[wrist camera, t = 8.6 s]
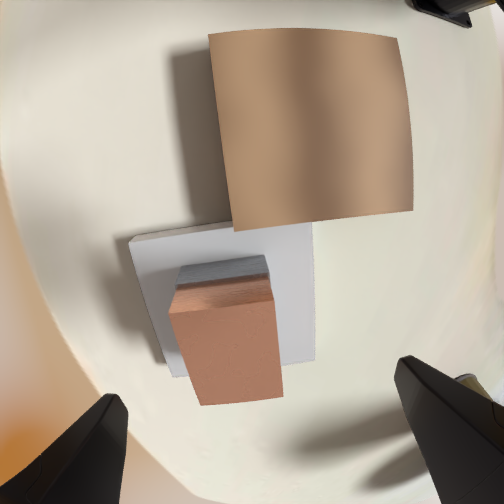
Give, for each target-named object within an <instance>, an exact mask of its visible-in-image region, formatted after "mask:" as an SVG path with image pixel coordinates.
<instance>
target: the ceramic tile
mask: <svg viewBox="0 0 504 504" xmlns="http://www.w3.org/2000/svg"><path fill="white" fill-rule="evenodd" d="M128 244H129V248H130V252H131V256H132V260H133V263H134V267H135V270H136V274H137V277H138V281H139V284H140V288H141V291H142V294H143V297H144V300H145V304H146V307H147V310H148V313H149V316H150V319H151V322H152V324H153V327H154V330H155V333H156V336H157V339H158V341H159V344H160V347H161V349H162V352H163V355H164V357H165V360H166V362H167V365H168V367H169V370H170V372H171V375H172V377H185V376H189V374H188V371H187V369H186V366H185V363H184V360H183V357H182V354H181V352H180V349H179V346H178V343H177V340H176V337H175V334H174V331H173V327H172V324H171V321H170V318H169V315H168V312H169V309H170V306H171V304H172V301H173V298H174V295H175V292H176V290H175V286H174V284H175V282H176V279H177V276H178V274H179V271H180V269H181V266H185V265H192V264H200V263H207V262H214V261H221V260H229V259H236V258H243V257H250V256H257V255H265V258H266V262H267V265H268V269H269V272H270V282H271V289H272V293H273V297H274V301H275V311H276V321H277V331H278V341H279V352H280V363H281V366H285V365H291V364H297V363H303V362H308V361H314V360H315V284H314V256H313V236H312V222H307V223H299V224H291V225H283V226H275V227H268V228H260V229H253V230H245V231H238V232H234V227H233V221H226V222H219V223H212V224H205V225H199V226H192V227H185V228H179V229H173V230H166V231H160V232H154V233H148V234H142V235H136V236H135V237H134V238H133V239H132V240H131V241H130V242H129V243H128Z"/></svg>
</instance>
